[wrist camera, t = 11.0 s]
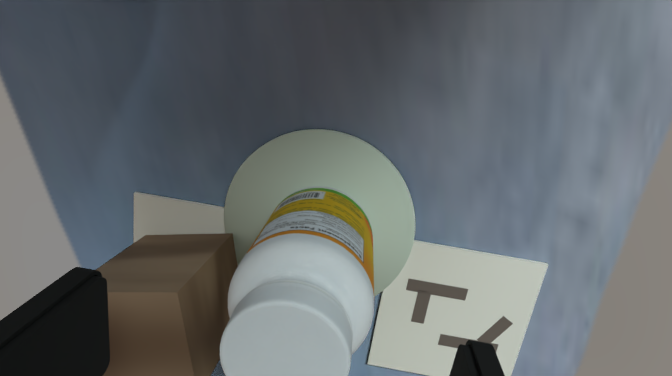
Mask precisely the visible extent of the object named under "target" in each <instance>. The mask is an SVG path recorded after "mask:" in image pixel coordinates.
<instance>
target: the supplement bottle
mask: <svg viewBox="0 0 672 376" xmlns="http://www.w3.org/2000/svg"><path fill="white" fill-rule="evenodd" d="M228 313H229V317H230V320H229V322H228V324H227V326H226V328H225V329H224V332H223V334H222V337H221V342H220V361H221V366H222V369H223V371H224V373H225V375H226V376H348V374H349V371H350V365H351V356H352V354H353V353H354V352H355V351H356V350H357V349H358V348H359V347H360V345H361V344H362V343H363V341H364V340H365V338H366V336H367V334H368V332H369V330H370V327H371V324H372V319H373V313H374V264H373V234H372V228H371V224H370V221H369V218H368V216H367V214H366V212H365V211H364V209H363V208H362V207H361V206H360V205H359V203H358V202H357V201H356V200H354V199H353V198H352V197H351V196H349V195H348V194H346V193H344V192H342V191H340V190H337V189H334V188H330V187H323V186H313V187H307V188H303V189H300V190H297V191H295V192H293V193H291V194H290V195H288V196H287V197H286V198H284V199H283V200H282V201H281V202H280V203H279V205H278V206H277V207H276V208H275V210H274V211H273V213H272V214H271V216H270V217H269V219H268V220H267V222H266V224H265V225H264V227H263V228H262V230H261V231H260V233H259V234H258V236H257V238H256V239H255V241H254V242H253V244H252V245H251V247H250V248H249V250H248V251H247V253H246V254H245V256H244V257H243V259H242V260H241V262H240V264H239V265H238V267H237V269H236V271H235V273H234V275H233V277H232V280H231V283H230V286H229V291H228Z"/></svg>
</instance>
